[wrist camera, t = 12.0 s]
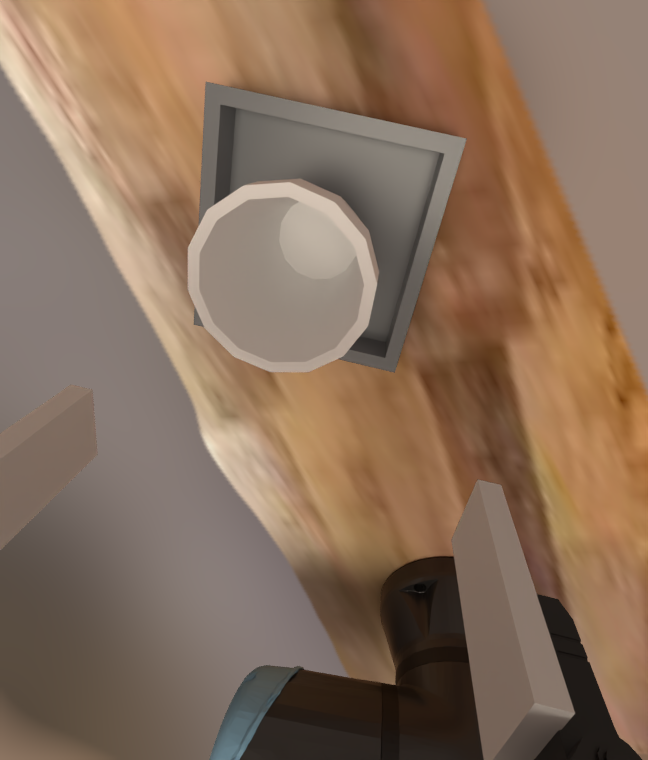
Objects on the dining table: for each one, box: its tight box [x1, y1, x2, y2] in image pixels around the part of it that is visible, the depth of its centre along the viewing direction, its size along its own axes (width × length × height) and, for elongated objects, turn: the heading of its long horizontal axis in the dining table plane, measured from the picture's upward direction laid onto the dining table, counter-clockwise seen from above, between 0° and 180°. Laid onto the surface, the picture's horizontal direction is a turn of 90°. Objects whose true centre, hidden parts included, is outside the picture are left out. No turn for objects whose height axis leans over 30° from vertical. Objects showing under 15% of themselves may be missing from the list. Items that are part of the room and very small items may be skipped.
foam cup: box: [188, 179, 379, 372], centre depth 27 cm, size 10×9×13 cm
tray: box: [194, 82, 466, 373], centre depth 32 cm, size 16×16×4 cm
